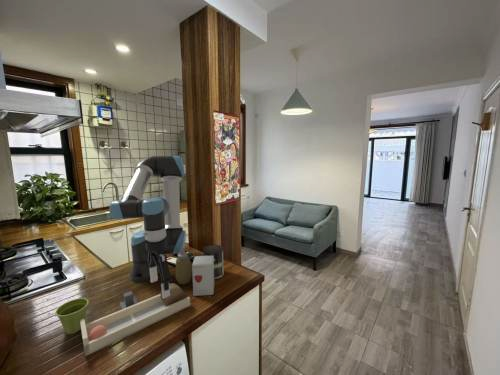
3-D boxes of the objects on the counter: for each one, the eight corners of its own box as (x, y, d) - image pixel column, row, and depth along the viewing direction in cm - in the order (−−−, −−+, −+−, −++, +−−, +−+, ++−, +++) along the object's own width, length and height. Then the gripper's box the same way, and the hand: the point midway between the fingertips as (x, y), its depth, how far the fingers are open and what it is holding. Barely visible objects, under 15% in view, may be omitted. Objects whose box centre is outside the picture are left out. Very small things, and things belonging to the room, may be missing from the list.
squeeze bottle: (191, 285, 107) (189, 249, 105) (174, 287, 106) (172, 251, 104) (193, 276, 115) (191, 243, 113) (177, 277, 114) (174, 244, 111)
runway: (82, 335, 78) (79, 320, 77) (179, 293, 101) (178, 281, 100) (85, 356, 70) (82, 339, 69) (190, 305, 93) (189, 292, 92)
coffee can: (217, 281, 111) (216, 254, 109) (200, 276, 115) (199, 251, 113) (227, 271, 120) (226, 246, 118) (211, 267, 124) (210, 243, 122)
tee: (119, 304, 94) (118, 293, 93) (135, 298, 98) (134, 287, 97) (122, 311, 90) (121, 300, 89) (138, 305, 93) (137, 294, 93)
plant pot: (85, 334, 78) (82, 312, 77) (52, 341, 76) (49, 318, 74) (95, 316, 87) (92, 296, 86) (66, 321, 85) (63, 300, 83)
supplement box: (192, 296, 99) (191, 264, 97) (195, 284, 108) (194, 255, 105) (213, 295, 100) (212, 263, 97) (214, 283, 108) (213, 254, 106)
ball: (92, 322, 74) (84, 335, 74) (95, 335, 71) (87, 348, 71) (108, 321, 78) (100, 333, 78) (111, 332, 75) (103, 345, 75)
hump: (161, 305, 93) (159, 287, 92) (179, 297, 98) (178, 280, 97) (166, 312, 89) (165, 294, 88) (185, 303, 94) (184, 286, 93)
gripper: (136, 232, 93) (140, 278, 96) (156, 252, 74) (161, 309, 78) (155, 228, 98) (158, 272, 101) (178, 245, 79) (182, 299, 82)
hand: (159, 288), depth 89 cm, fingers open, 13 cm apart
